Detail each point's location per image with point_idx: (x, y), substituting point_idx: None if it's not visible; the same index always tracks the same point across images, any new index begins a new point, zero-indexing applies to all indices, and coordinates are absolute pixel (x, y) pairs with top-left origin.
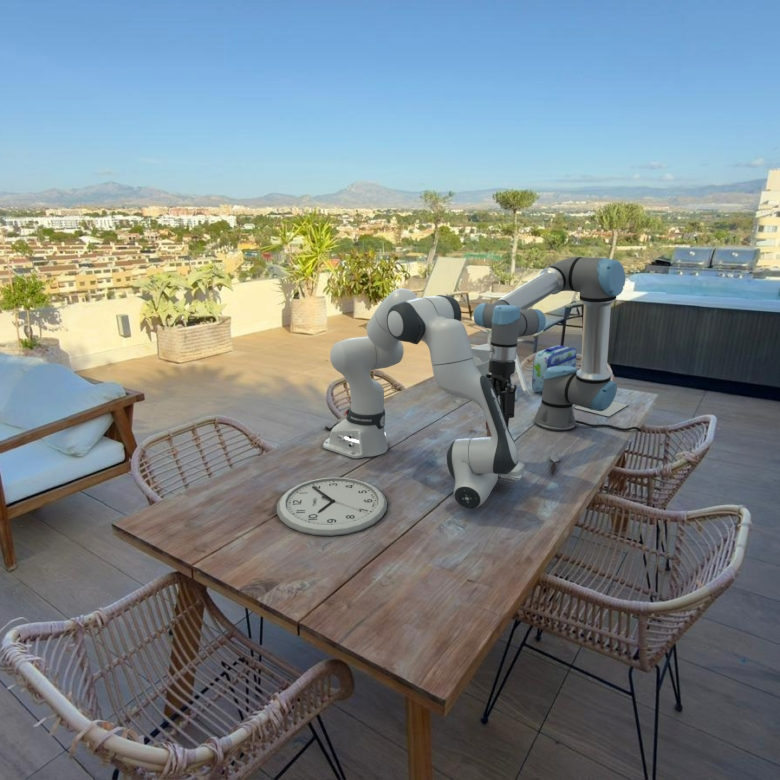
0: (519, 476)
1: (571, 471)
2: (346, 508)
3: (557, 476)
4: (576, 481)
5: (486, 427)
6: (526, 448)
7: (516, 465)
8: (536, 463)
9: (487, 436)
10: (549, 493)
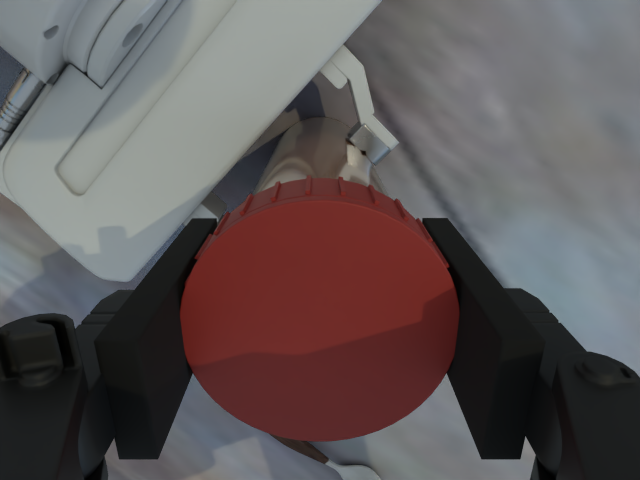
0: (6, 188)
1: (253, 475)
2: None
3: (227, 412)
4: (171, 447)
5: (447, 226)
6: None
7: (83, 226)
8: None
9: (328, 166)
10: (90, 307)
